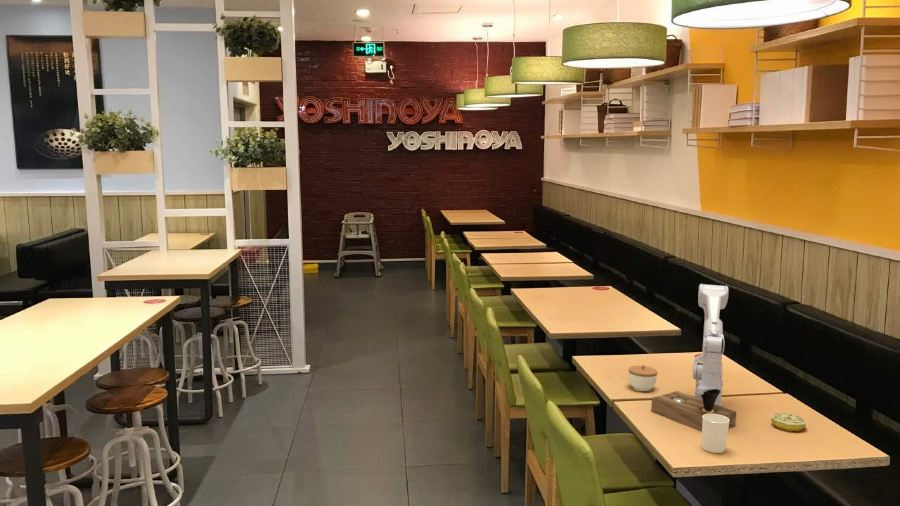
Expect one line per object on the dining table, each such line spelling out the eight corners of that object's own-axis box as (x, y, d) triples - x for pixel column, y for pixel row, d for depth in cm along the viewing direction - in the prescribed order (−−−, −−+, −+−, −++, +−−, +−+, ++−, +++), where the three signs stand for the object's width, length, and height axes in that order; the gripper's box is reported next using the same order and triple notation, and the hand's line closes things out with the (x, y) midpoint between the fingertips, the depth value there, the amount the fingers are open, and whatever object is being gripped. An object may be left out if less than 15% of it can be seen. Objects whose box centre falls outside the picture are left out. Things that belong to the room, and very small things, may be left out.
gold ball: (705, 419, 251) (706, 407, 251) (715, 423, 248) (717, 410, 247) (698, 422, 249) (699, 409, 248) (708, 425, 246) (709, 413, 245)
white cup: (695, 443, 232) (698, 413, 230) (720, 443, 233) (722, 413, 231) (706, 454, 224) (709, 423, 223) (731, 454, 225) (734, 422, 223)
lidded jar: (623, 389, 282) (624, 366, 280) (633, 382, 290) (635, 359, 289) (650, 395, 276) (652, 371, 274) (660, 388, 284) (661, 365, 283)
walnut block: (676, 404, 267) (677, 390, 267) (735, 425, 248) (736, 411, 247) (651, 411, 259) (652, 397, 259) (709, 434, 240) (710, 419, 239)
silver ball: (677, 409, 261) (677, 396, 260) (686, 412, 258) (687, 400, 257) (669, 411, 259) (670, 398, 258) (679, 414, 256) (679, 402, 255)
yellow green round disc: (809, 427, 249) (810, 416, 248) (799, 436, 241) (800, 425, 240) (777, 419, 256) (778, 408, 255) (766, 427, 248) (767, 416, 247)
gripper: (710, 364, 254) (707, 402, 256) (689, 372, 244) (686, 411, 246) (730, 369, 249) (726, 407, 251) (709, 377, 239) (706, 417, 241)
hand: (708, 410), depth 248 cm, fingers closed, pressing on gold ball
